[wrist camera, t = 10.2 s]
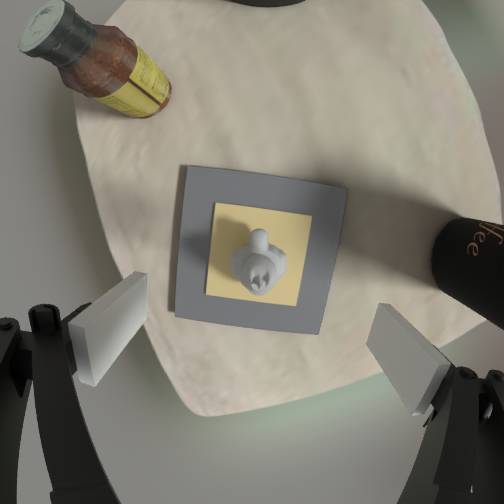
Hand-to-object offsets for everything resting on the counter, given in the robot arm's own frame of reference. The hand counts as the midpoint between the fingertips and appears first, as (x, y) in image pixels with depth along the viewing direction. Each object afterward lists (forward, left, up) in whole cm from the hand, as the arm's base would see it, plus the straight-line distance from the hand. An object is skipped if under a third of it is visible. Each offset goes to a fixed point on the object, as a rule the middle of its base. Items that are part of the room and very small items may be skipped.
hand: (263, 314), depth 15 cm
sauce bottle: (-16, -15, -17) cm, 28 cm away
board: (0, 0, -16) cm, 16 cm away
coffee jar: (-3, +27, -17) cm, 32 cm away
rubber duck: (0, 0, -15) cm, 15 cm away
